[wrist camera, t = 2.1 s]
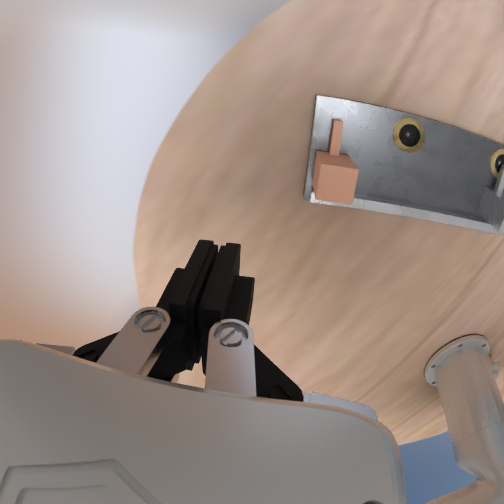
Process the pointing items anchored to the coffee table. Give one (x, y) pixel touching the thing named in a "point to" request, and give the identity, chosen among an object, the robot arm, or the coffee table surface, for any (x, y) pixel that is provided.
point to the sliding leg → (334, 171)
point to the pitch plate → (413, 165)
